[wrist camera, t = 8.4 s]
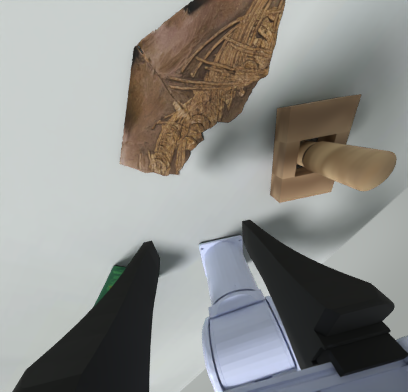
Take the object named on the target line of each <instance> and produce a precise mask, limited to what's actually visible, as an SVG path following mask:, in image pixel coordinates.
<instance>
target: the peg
mask: <svg viewBox="0 0 408 392" xmlns="http://www.w3.org/2000/svg"><path fill="white" fill-rule="evenodd" d="M297 164H298V165H301V166H303V167H305V168H306V169H307V170H309V171H312V172H314V173H317V174H319V175H322V176H324V177H327V178H329V179H332V180H334V181H337V182H339V183H342V184H344V185H347V186H349V187H352V188H354V189H357V190H359V191H368V190H371V189H373V188H375V187H377V186H378V185H380V184H381V183H382V182H384V181H385V180H386V179H387V178H388V176H389V175H390V174H391V173H392V171H393V169H394V167H395V165H396V155H395V154H394V153H393V152H390V151H384V150H378V149H371V148H365V147H358V146H351V145H345V144H338V143H332V142H325V141H321V142H314V141H308V140H302V141H300V146H299V152H298V158H297Z"/></svg>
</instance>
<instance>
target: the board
mask: <svg viewBox="0 0 408 392" xmlns="http://www.w3.org/2000/svg"><path fill="white" fill-rule="evenodd" d="M360 97H361V94H359V95H352V96H345V97H338V98H332V99H327V100H321V101H316V102H310V103H304V104H299V105H293V106H288V107H282V108H277V117H276V129H275V142H274V154H273V167H272V179H271V191H270V195H271V196H272V197H273V198H275V199H276V200H277V201H278V202H279V203H281V202H285V201H290V200H295V199H300V198H304V197H309V196H314V195H318V194H323V193H328V192H331V190H332V187H333V184H334V180H332V179H329V178H327V177H324V176H322V175H319V174H317V173H314V172H312V171H309V170H307V169H306V168H305V167H300V168H296V164H297V158H298V152H299V146H300V141H302V140H307V139H312V138H317V137H318V140H317V142H321V141H325V142H332V143H338V144H345V145H346V142H347V139H348V136H349V133H350V130H351V126H352V123H353V120H354V117H355V113H356V110H357V107H358V104H359V101H360Z"/></svg>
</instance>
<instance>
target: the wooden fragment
mask: <svg viewBox="0 0 408 392" xmlns="http://www.w3.org/2000/svg"><path fill="white" fill-rule="evenodd" d="M284 6H285V0H194V1H192V2H190V3H189V4H188V5H186V6H185V7H184V8H182V9H181V10H180V11H179V12H177V13H176V14H175V15H174V16H172V17H171V18H170V19H168V20H167V21H165V22H164V23H163V24H162V25H161V27H159V28H158V30H155V32H154V31H152V32H151V33H150V34H149V35H147V36H146V37H145V38H143V39H142V40H141V41H140V42H139V44H138V45H137V46H135V47H134V51H133V59H132V61H133V62H132V66H131V76H130V84H129V91H128V101H127V109H126V117H125V123H124V126H125V127H124V135H123V142H122V148H121V157H120V164H122V165H125V166H129V167H132V168H135V169H137V170H140V171H142V172H145V173H150V172H155V173H157V174H161V175H162V176H168V175H169V174H176V175H179V171H180V170H181V169H182V166H183V165H184V163H185V162H186V161H187V160H188V158H189V156H190V151H191V150H193V148H195V147H196V146H197V145H198V144H199V143H200V142H201V141H203V140H204V139H203V136H202V132H203V131H205V130H207V129H209V128H212V127H213V126H214V125H215V124H217V122H227V123H228V122H230V121H232V120H233V119H234V118H236V117H237V116H238V115H239V114H240V113H241V112H242V109H243V107H244V104H245V102H246V101H247V100H248V97H249V95H250V94H251V92H252V89H253V88H254V87H255V86H256V84H257V82H258V81H259V80H260V79H261V78H264V77H266V76H267V75H268V71H269V65H270V61H271V57H272V53H273V49H274V47H275V44H276V39H277V30H278V26H279V23H280V20H281V17H282V14H283V10H284ZM138 46H140V48H141V50H142V51H143V54H142V53H141V51H140V49H138Z"/></svg>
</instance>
